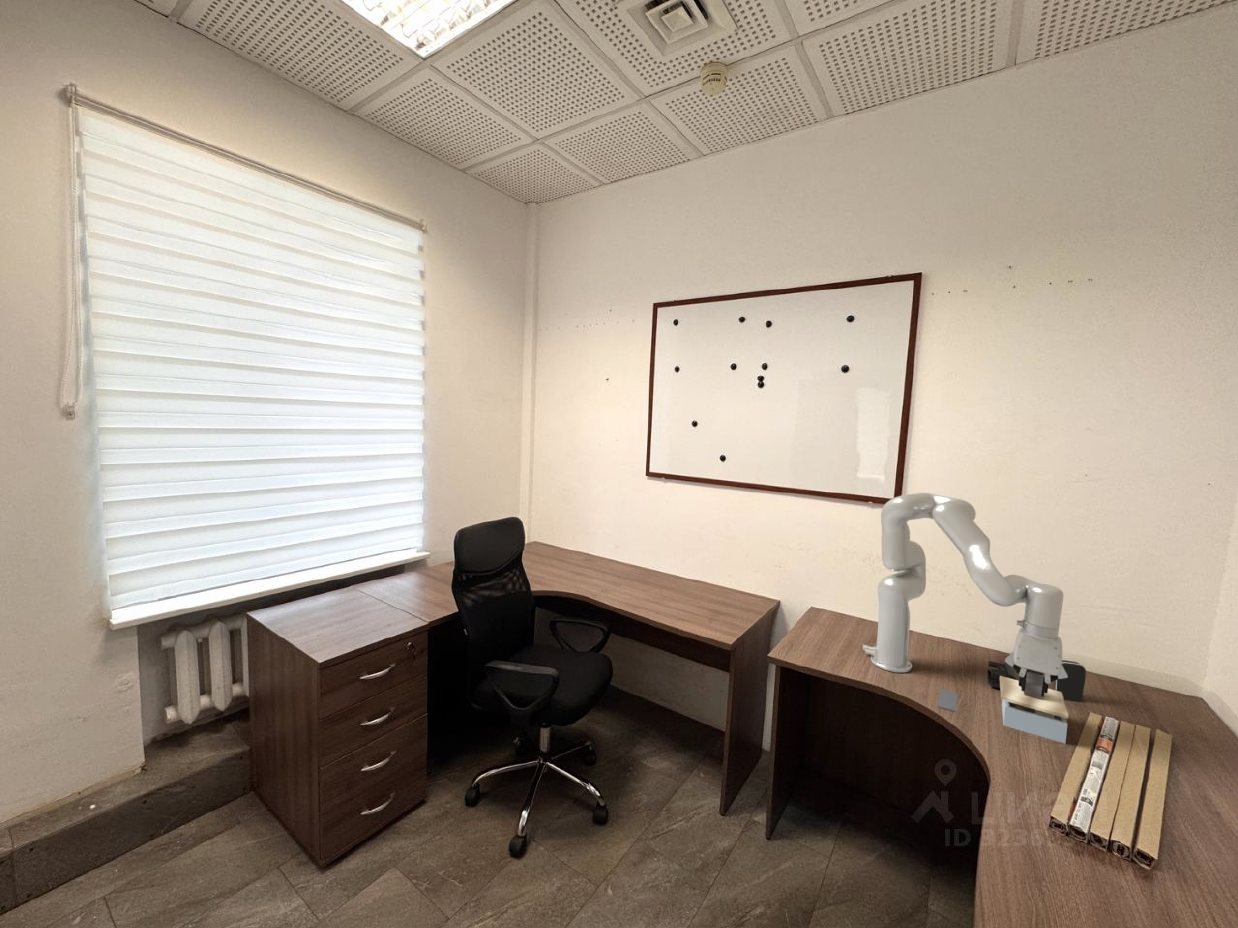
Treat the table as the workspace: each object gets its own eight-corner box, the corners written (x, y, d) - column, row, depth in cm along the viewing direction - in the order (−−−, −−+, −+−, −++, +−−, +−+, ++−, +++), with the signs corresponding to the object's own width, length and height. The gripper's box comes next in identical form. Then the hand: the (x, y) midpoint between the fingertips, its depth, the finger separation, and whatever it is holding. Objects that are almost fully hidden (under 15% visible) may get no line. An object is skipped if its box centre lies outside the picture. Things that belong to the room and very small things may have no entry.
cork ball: (1013, 716, 144) (1014, 705, 144) (1012, 711, 147) (1013, 700, 147) (1027, 720, 142) (1028, 709, 142) (1026, 715, 145) (1027, 704, 145)
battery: (1076, 695, 157) (1080, 660, 156) (1083, 702, 153) (1087, 666, 152) (1049, 691, 159) (1053, 657, 158) (1055, 698, 155) (1059, 662, 154)
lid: (1000, 702, 140) (1004, 672, 139) (999, 681, 151) (1002, 653, 150) (1067, 722, 132) (1072, 690, 131) (1060, 698, 143) (1064, 668, 142)
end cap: (1018, 698, 155) (1020, 677, 155) (990, 691, 159) (992, 670, 158) (1013, 683, 164) (1015, 663, 163) (986, 677, 167) (988, 657, 167)
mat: (937, 706, 150) (937, 705, 149) (940, 689, 159) (940, 688, 159) (978, 719, 144) (979, 717, 144) (979, 700, 153) (979, 698, 153)
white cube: (1035, 730, 138) (1036, 716, 138) (1033, 723, 141) (1035, 709, 141) (1054, 735, 136) (1055, 721, 135) (1052, 728, 139) (1054, 714, 139)
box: (1003, 727, 140) (1005, 706, 140) (1001, 705, 151) (1003, 686, 150) (1065, 745, 133) (1067, 724, 132) (1058, 721, 143) (1061, 701, 143)
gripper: (1003, 625, 141) (995, 687, 143) (1083, 643, 131) (1073, 709, 133) (1002, 616, 147) (995, 676, 149) (1078, 632, 137) (1069, 696, 139)
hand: (1032, 691), depth 141 cm, fingers closed on lid, 3 cm apart
